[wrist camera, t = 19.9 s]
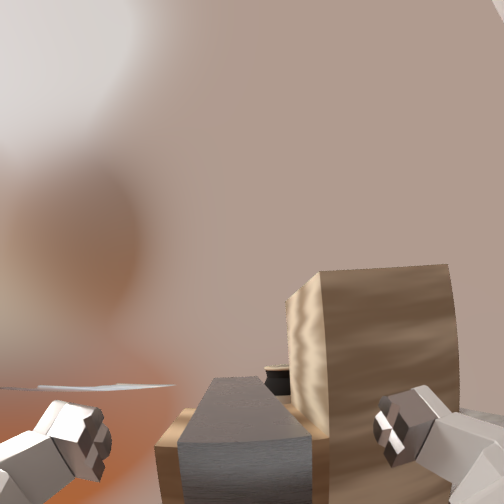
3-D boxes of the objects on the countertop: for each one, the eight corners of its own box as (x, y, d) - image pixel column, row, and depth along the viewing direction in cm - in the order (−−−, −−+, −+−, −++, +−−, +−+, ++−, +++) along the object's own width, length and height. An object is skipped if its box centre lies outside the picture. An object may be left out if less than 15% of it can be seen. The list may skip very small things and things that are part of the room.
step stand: (433, 557, 11) (447, 263, 19) (188, 604, 9) (147, 276, 17) (380, 511, 22) (378, 294, 30) (199, 536, 21) (180, 304, 28)
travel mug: (309, 465, 41) (306, 366, 46) (263, 465, 43) (258, 368, 48) (313, 449, 49) (309, 362, 54) (272, 450, 50) (267, 365, 56)
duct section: (312, 511, 7) (311, 435, 8) (186, 518, 7) (177, 442, 8) (258, 406, 26) (257, 376, 27) (215, 408, 26) (214, 377, 27)
